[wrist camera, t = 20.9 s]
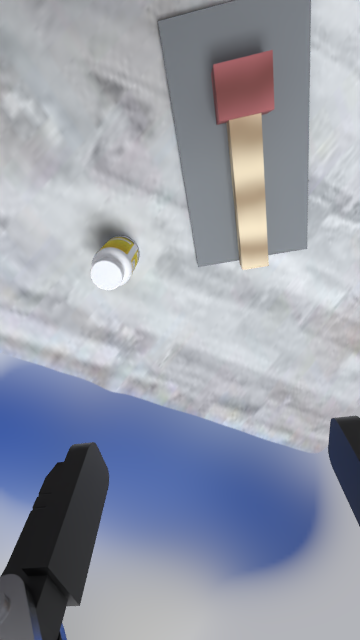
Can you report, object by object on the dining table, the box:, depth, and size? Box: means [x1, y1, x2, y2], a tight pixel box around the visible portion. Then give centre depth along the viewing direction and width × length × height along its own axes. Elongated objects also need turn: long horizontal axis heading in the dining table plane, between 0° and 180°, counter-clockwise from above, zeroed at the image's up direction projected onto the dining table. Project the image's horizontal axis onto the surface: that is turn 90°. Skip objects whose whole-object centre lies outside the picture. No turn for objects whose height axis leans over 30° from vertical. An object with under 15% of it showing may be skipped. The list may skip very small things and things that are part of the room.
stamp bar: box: [211, 50, 274, 270], centre depth 37 cm, size 23×6×4 cm, turn 11°
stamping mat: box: [158, 0, 311, 267], centre depth 38 cm, size 28×16×1 cm, turn 11°
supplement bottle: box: [91, 236, 139, 290], centre depth 41 cm, size 5×5×10 cm
